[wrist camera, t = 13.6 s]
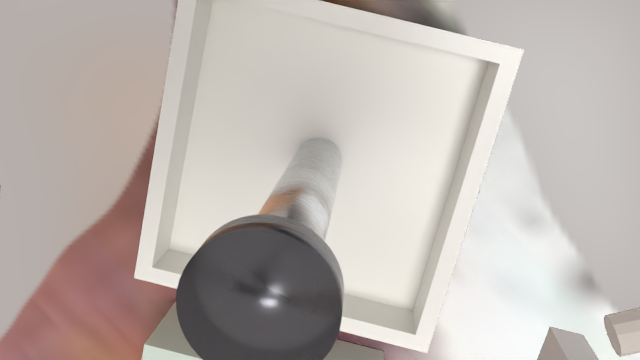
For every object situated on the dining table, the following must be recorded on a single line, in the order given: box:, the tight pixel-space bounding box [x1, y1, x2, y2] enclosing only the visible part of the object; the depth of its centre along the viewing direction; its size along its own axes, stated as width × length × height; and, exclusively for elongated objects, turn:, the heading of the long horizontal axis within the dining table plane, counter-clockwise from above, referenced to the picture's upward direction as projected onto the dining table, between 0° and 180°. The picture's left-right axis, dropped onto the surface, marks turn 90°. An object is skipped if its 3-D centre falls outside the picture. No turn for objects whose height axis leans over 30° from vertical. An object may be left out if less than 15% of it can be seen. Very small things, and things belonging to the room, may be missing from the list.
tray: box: [134, 0, 524, 353], centre depth 29 cm, size 15×15×4 cm
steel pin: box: [176, 137, 344, 360], centre depth 22 cm, size 4×4×16 cm
